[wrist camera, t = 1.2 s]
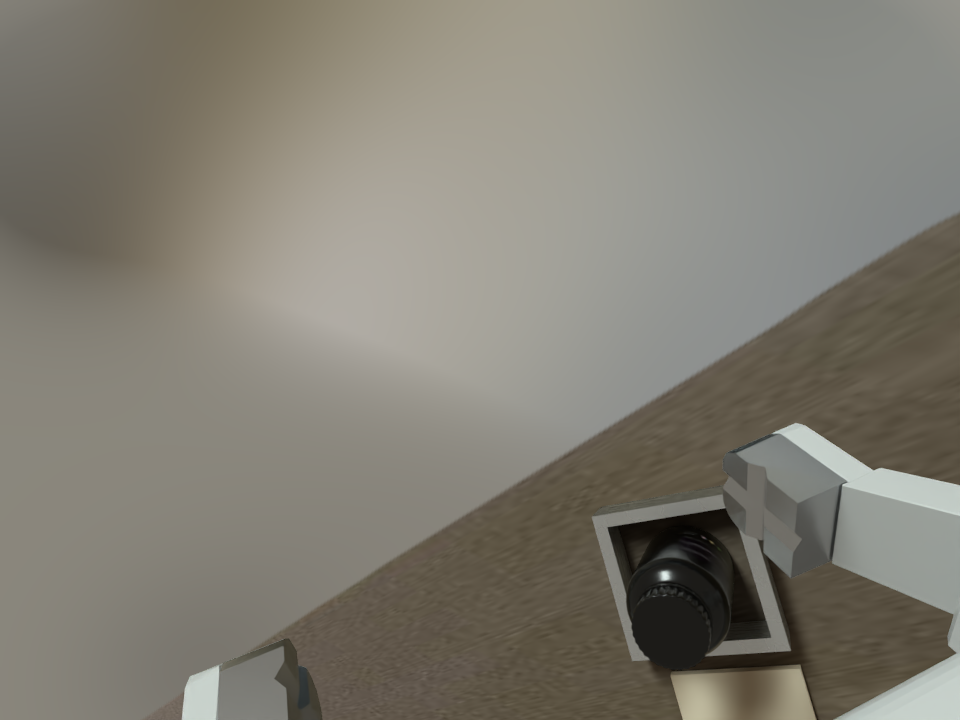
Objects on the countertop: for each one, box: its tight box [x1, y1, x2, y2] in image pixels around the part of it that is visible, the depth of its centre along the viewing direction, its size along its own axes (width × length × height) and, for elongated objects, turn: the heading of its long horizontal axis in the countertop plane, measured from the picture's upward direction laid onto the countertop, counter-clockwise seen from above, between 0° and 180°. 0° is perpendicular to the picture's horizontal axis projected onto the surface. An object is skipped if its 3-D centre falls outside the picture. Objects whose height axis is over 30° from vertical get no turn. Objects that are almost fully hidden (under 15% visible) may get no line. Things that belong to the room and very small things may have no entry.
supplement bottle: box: [626, 526, 734, 670], centre depth 43 cm, size 7×7×12 cm
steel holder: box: [592, 485, 791, 661], centre depth 47 cm, size 12×12×3 cm
